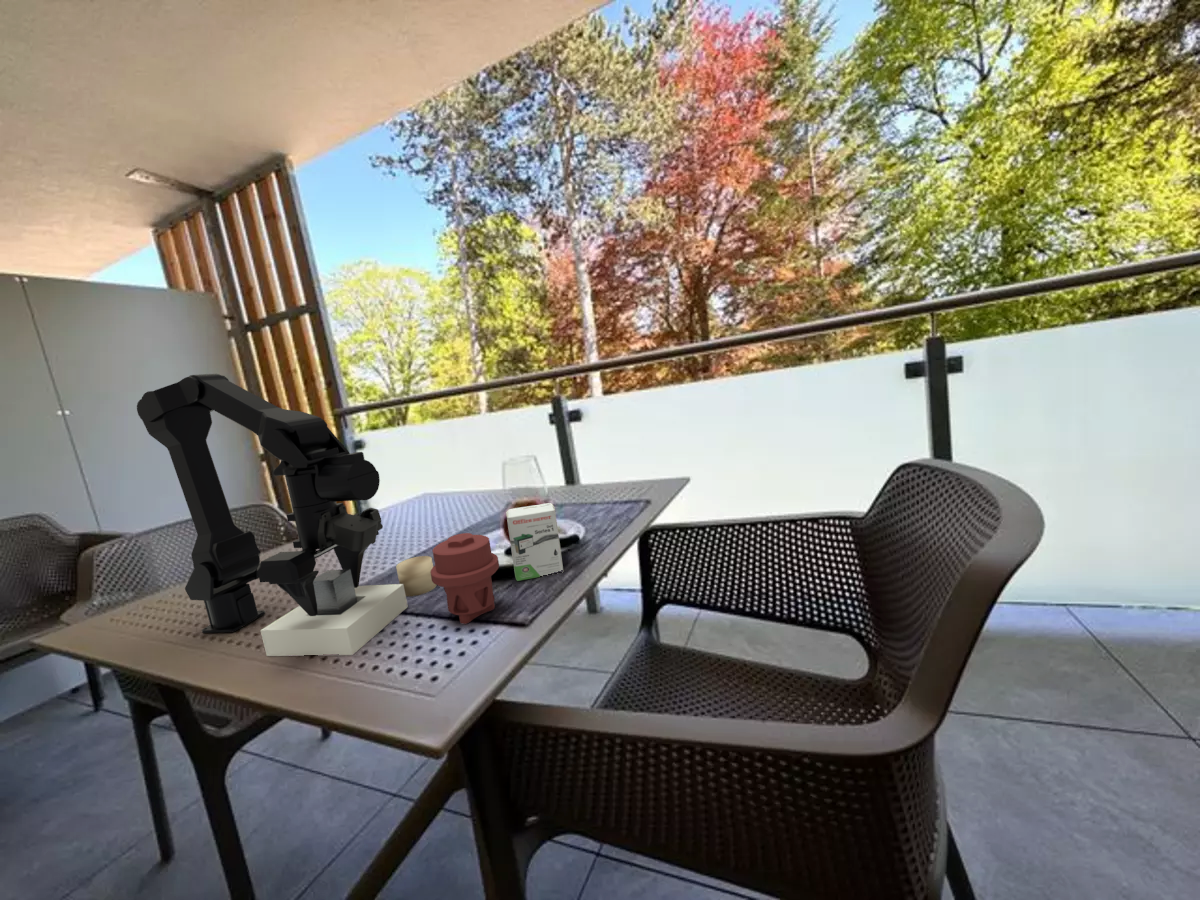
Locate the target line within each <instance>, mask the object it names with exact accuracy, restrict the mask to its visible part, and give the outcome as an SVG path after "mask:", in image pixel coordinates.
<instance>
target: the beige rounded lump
mask: <svg viewBox="0 0 1200 900" xmlns="http://www.w3.org/2000/svg"><path fill="white" fill-rule="evenodd" d="M433 567H434V564H433V558H432V556H429V555H420V556H414V557H410V558H407V559H405V560H402V561H401V562H399V563H398V564H396V567H395V568H396V572H397V578H398V584H403V585H404V590H405V595H406V597H416V596H421V595H424V594H426V593H429V592H431V591H433V590H434V589H435V588H436V587H437V585H436V584H434V583H433V582H432V579H431V573H430V572H431V569H432V568H433Z"/></svg>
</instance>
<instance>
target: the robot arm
mask: <svg viewBox="0 0 1200 900" xmlns="http://www.w3.org/2000/svg"><path fill="white" fill-rule="evenodd" d="M142 395H143V396H142V397H141V399H139V401H138V402H137V403H136V404H137V405H136V412H137V415H138V418H140V419H141V421H142V422H143V424H144V427H145V429H146V431H147V433H148V435H150V437H152V438H154V440H155V441H157V442H159V444H161V445H163V446H164V447H165V448H166V449H167V450H168V454H169V456H170V459H171V462H172V465H173V468H174V470H175V473H176V476H177V479H178V482H179V485H180V487H181V491H182V493H183V496H184V499H185V502H186V505H187V508H188V510H189V513H190V514H189V515H190V516H191V519H192V522H193V525H194V528H195V531H196V535H197V536H196V538H195V539H196V540H195V543H194V546H193V548H192V551H191V559H192V564H193V570H192V573H191V575H190V576H189V579H188V581H187V582H186V585H185V587H184V590H185V592H186V595H187V596H188V598H189V600H190V601H203V603H204V607H205V610H206V614H207V618H208V621H209V625H208V626H206V627H204V628H202V629H201V633H203V634H206V633H209V634H210V633H235V632H236V631H238V630H239V628H240V629H241V628H243V627H245V626H246V625H248V624H250V623H252V622H253V621H255V620H256V619H258V618H260V617H261V616H264V615H265V614H266V611H265V610H263V609H262V610H261V609H260V610H258V608H257V605H256V599H255V596H254V595H255V594H254V593H253V592H252V588H251V585H250V583H251V582H252V581H256V580H258V579H259V583H268V584H269V585H277V586H278V587H280V589H282V590H283V591H284V592H285V593H286V594H287V595H289V596H290V597H291V598H292V599H293V600H294V601H295V602H296V603H297V604H298V606H301V607H302V609H303V610H304V611H305V612H306V613H307V614H308V615H309V616H316V615H317V614H318V612H317V602H316V596H315V590H314V584H313V581H314V579H315V578H316V577H317V576H318V574H319V570H315V567H316V565H317V563H316V562H317V561H316V559H317V558H319V557H322V556H323V555H325V554H326V553H328V552H330V551H333V552H334V554H335V557H336V558H337V560H338V562H339V563H338V564H339V565H340V567H341V570H343V569H350V570H351V575H352V579H353V584H354V588H357V587H358V586H360V579H361V572H362V567H363V566H362V565H363V559H364V554H365V551H366V550H367V549H368V548H369V546H371V545H374V544H375V543H376V539H377V536H378V535H380V532H379V531H380V530H382V529H383V527H384V526H383V524H382V517H381V515H380V511H379V509H377V508H374V507H369V508H367V509H364V510H362V512H360V513H361V514H360V513H355V514H351V513H348V510H347V507H346V505H344V502H354V501H357V502H358V501H368V500H371V499H372V498H373V497H374V496H376V494H377V492H378V490H379V488H380V481H381V480H380V473H379V470H377V468H376V466H375V465H374V464H373V463H372V462H371V461H369V460H366V459H365V455H364V452H363V451H356V452H352V453H350V451H348V450H347V448H346V447H345V445H344V444H343V443H342V442H341V441H340V440H339V438H337V436H336V435H335V434H334V433H333V432H332V430H330V428H329V427H328V424H327V422H326V421H325V420H324V419H323V418H322V417H319V416H318V415H314V414H311V413H308V412H304V411H298V410H291V409H286V408H281V407H279V406H277V405H275V404H273V403H272V402H269V401H267V400H265V399H264V398H262V397H260V396H258V395H256V394H254V393H252V392H250V391H248V390H246V389H245V388H243V387H241V386H239V385H238V384H236V383H233V382H231V381H230V380H229V378H227V377H226V375H222V374H219V373H206V374H191V375H189V376H187V377H184V378H182V379H181V380H180V381H178V382H177V381H176V382H174V383H172V384H169V385H165V386H163V387H160V388H158V389H155V390H151V391H148V390H147V392H145V393H144V394H142ZM211 412H217V413H218V414H220V415H222V416H223V417H225V418H227V419H229V420H231V421H232V422H234V423H236V424H238V425H240V426H241V427H243V428H245V429H246V430H248V431H251V432H252V433H254V434H255V435H256V436H257V437H258V441H259V443H260V444H259V445H261V447H262V448H264V449H265V450H266V451H267V452H268V453H270V454H271V455H272V456H274V458H276V459H278V460H280V463H279V464H278V465H277V466H276V467H275V468H274V470H273V472H272V474H273V475H274V477H278V476H279V477H280V476H282V477H283V476H284V479H285V482H286V487H287V491H288V495H289V500H290V504H291V509H292V512H290V513H288V514H287V513H286V519H287V522H295V527H296V532H297V535H298V539H295V540H293V541H292V546H293V549H302V550H296V551H294V550H293V551H280V552H278V553H275V554H274V555H271V556H269V557H267V558H265V559H263V560H261V557H260V556H261V555H260V554H261V550H260V549H259V547H258V545H257V543H256V537H255V534H254V533H253V532H252V531H246V532H245V531H244V530H242V529H241V528H240V527H239V526H237V525H236V524H235V522H234V519H233V516H232V514H231V511H230V508H229V505H228V502H227V498H226V496H225V493H224V490H223V487H222V483H221V481H220V478H219V474H218V471H217V468H216V466H215V463H214V460H213V456H212V455H211V454H212V453H211V451H210V449H209V444H208V441H207V439H208V436H209V433H210V431H211V428H212V425H213V420H212V414H211ZM337 502H338V503H337ZM249 622H250V623H249ZM247 623H248V624H247ZM244 625H245V626H244ZM242 626H243V627H242Z"/></svg>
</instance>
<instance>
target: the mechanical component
mask: <svg viewBox="0 0 1200 900" xmlns="http://www.w3.org/2000/svg"><path fill="white" fill-rule="evenodd" d="M432 555H433V561H434V565H433V568H432V569H431V572H430V573H431V579H432V582H433V583H434V584H436V586H439V587H441V588H443V589H444V592H445V594H446V605H447V610H448V612H449V613H450V614H453V615H454V616H455V615H456V616H458V618H459V623H460V624H462V625H466V624H470V623H471V622H472V621H474V619H476V618H477V617H480V616H481V615H483V614H486V613H488V612H492V611H493V610H495V608H496V606H495V605H496V604H495V595H494V589H493V582H492V576H493V575H494V574H496V572H497V571H498V570H499V568H500V562H499V557H498V555H497V554H495V553H493V552H492V548H491V543H490V538H489V537H488V536H486V535H483V534H472V533H470V532H465V533H458V534H454V535H451V536H450V537H448V538H447V539H446V540H444V541H442V542H440V543H438V544H437V545H435V547H433V549H432Z"/></svg>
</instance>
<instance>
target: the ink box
mask: <svg viewBox="0 0 1200 900" xmlns="http://www.w3.org/2000/svg"><path fill="white" fill-rule="evenodd" d="M505 515H506V520H507V528H508V535H509V541H510V542H509V543H510V550H511V555H512V563H513V569H514V570H513V571H514V577H515V580H516V581H517V582H520V581H526V580H529V579H531V580H532V579H536V578H540V576H542V577H544V576H543V575H547V576H549V575H548V574H551V573H554V572H558V571H561V570H563V571H564V566H563V559H562V558H563V557H562V551H561V543H560V536H559V528H558V520H557V514H556V509H555V506H554V505H553V503H551V502H548V503H547V502H546V503H541V504H536V505H535V504H534V505H528V506H521V507H514V508H509V509H508V510H507V511H505Z"/></svg>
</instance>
